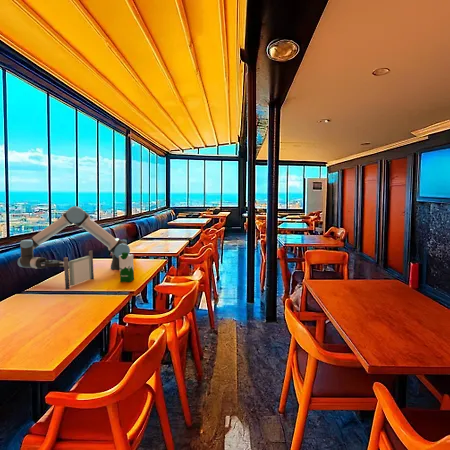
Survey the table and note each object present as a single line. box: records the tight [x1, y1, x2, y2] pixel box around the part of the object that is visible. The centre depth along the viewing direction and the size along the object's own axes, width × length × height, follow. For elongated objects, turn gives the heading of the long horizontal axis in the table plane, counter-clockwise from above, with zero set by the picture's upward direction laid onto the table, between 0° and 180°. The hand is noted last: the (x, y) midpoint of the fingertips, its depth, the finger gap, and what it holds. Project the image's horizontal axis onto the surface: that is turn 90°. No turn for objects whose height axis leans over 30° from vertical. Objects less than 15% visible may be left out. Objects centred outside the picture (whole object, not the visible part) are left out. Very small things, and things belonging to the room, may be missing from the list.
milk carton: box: [119, 252, 135, 283], centre depth 232 cm, size 9×9×20 cm
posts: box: [63, 250, 95, 290], centre depth 226 cm, size 27×2×20 cm, turn 166°
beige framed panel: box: [68, 255, 92, 287], centre depth 227 cm, size 19×2×16 cm, turn 166°
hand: (68, 264), depth 228 cm, fingers closed
